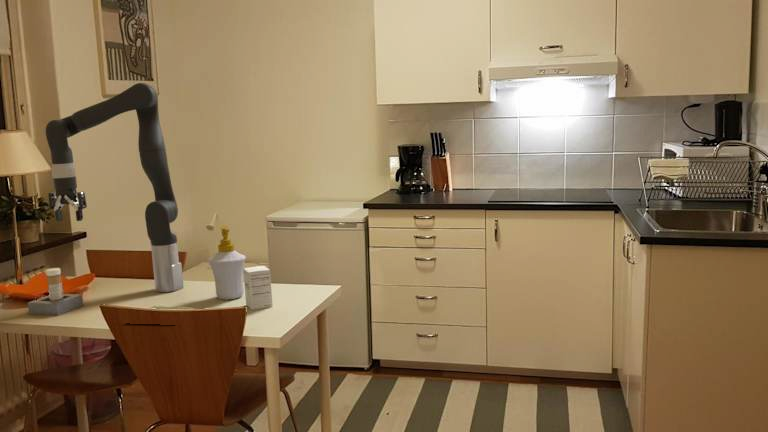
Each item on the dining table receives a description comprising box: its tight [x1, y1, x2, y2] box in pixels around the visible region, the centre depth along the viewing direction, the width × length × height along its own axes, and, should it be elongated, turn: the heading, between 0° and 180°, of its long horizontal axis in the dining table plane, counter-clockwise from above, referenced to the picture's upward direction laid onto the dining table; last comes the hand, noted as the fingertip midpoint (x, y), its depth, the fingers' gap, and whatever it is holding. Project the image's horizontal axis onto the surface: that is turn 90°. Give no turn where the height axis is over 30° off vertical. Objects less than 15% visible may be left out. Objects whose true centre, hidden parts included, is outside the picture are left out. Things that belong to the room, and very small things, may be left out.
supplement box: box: [243, 265, 273, 311], centre depth 237 cm, size 7×7×13 cm
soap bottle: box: [208, 225, 247, 301], centre depth 250 cm, size 13×13×25 cm
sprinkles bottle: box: [45, 267, 64, 302], centre depth 245 cm, size 5×5×13 cm
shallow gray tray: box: [27, 293, 84, 317], centre depth 252 cm, size 26×21×4 cm
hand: (69, 220), depth 261 cm, fingers open, 8 cm apart
